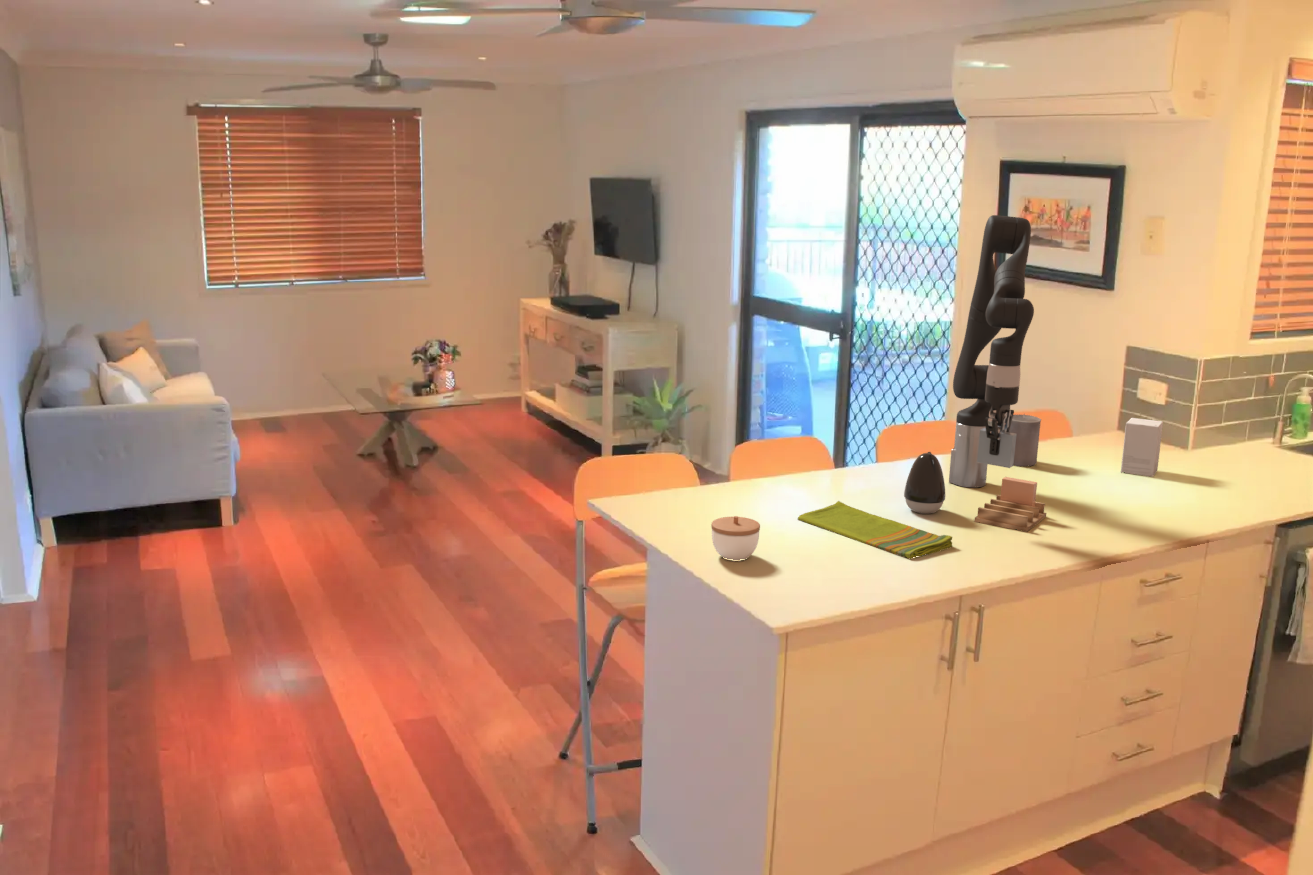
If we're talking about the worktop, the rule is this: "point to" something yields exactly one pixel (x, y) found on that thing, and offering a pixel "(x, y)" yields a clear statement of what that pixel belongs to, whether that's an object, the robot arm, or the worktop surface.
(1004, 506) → the dish rack
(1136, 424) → the supplement box
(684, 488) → the worktop surface
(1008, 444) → the slate grey rectangular block
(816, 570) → the worktop surface
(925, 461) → the black egg-shaped piece
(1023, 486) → the terracotta plate
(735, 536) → the lidded jar
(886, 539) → the dish towel
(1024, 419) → the pillar candle
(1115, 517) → the worktop surface
